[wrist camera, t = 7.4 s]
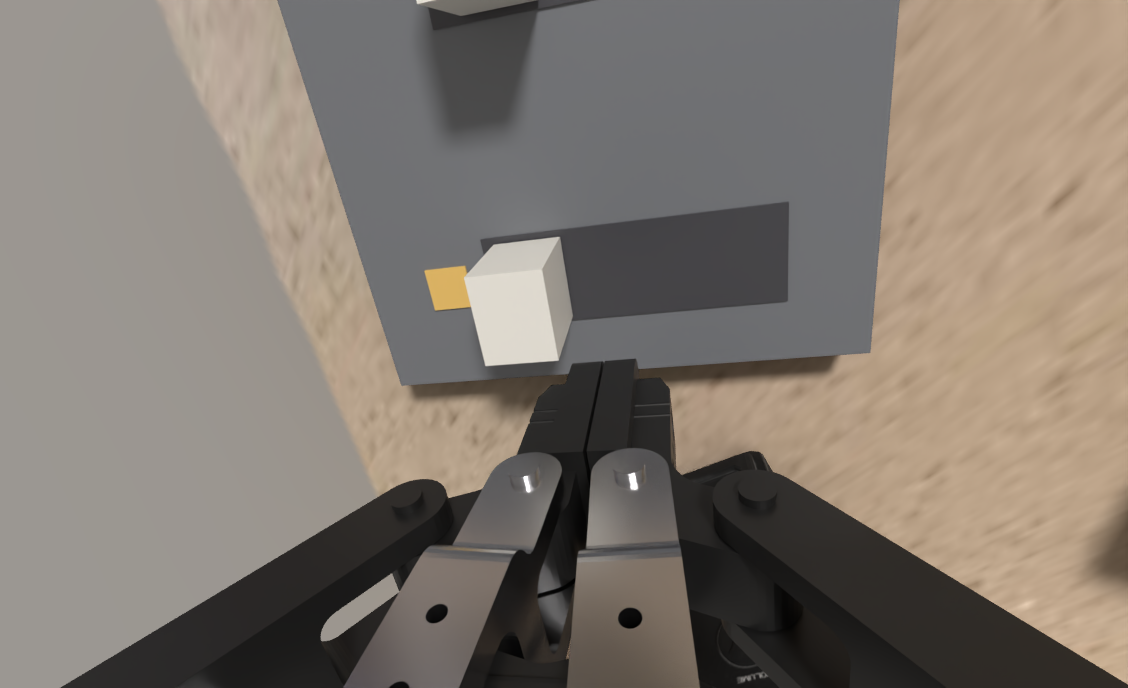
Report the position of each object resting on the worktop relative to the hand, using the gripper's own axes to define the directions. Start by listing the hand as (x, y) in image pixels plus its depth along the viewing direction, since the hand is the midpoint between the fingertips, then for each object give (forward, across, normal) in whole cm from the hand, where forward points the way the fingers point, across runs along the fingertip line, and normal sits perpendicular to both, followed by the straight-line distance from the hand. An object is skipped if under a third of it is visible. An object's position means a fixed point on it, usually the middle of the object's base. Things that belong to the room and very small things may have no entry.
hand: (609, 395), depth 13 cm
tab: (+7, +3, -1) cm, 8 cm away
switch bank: (+10, +1, -6) cm, 11 cm away
